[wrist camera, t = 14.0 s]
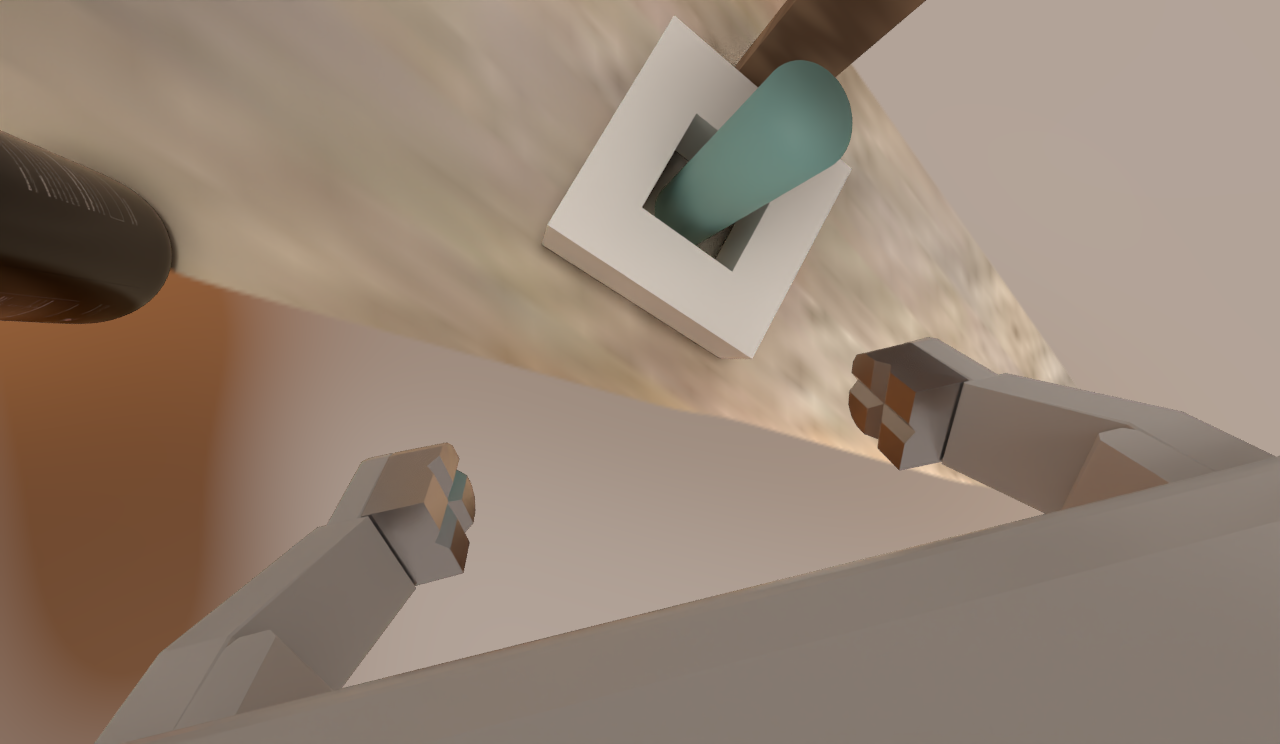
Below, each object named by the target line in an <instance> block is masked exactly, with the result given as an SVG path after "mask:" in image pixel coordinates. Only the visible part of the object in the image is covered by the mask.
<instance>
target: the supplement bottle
mask: <svg viewBox="0 0 1280 744" xmlns="http://www.w3.org/2000/svg"><path fill="white" fill-rule="evenodd" d="M171 261H172V249H171V243H170V239H169V235H168V233H167V230H166V228H165V226H164V224H163V222H162V220H161V219H160V217H159V216H158V214H157V213H156V212H155V211H154V209H153V208H152V207H151V206H150V205H149V204H148V203H147V202H146V201H145V200H144V199H143V198H142V197H141V196H139V195H138V194H137V193H136V192H134V191H133V190H131V189H130V188H128V187H127V186H125V185H123V184H122V183H120V182H118V181H116V180H114V179H112V178H110V177H108V176H106V175H103V174H101V173H99V172H97V171H94V170H92V169H90V168H88V167H85V166H83V165H81V164H78V163H76V162H74V161H71V160H69V159H67V158H64V157H62V156H60V155H57V154H55V153H52V152H50V151H48V150H45V149H43V148H41V147H38V146H36V145H34V144H31V143H29V142H27V141H24V140H22V139H20V138H17V137H15V136H13V135H10V134H8V133H6V132H3V131H1V130H0V320H2V321H22V322H40V323H65V324H85V323H98V322H104V321H109V320H113V319H116V318H119V317H122V316H125V315H127V314H130V313H132V312H134V311H136V310H138V309H139V308H140V307H142V306H144V305H145V304H146V303H148V302H149V301H150V300H151V299H152V298H153V297H154V296H155V295H156V294H157V293H158V292H159V290H160V289H161V288H162V286H163V285H164V283H165V281H166V279H167V277H168V274H169V271H170V267H171Z"/></svg>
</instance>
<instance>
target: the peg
mask: <svg viewBox="0 0 1280 744" xmlns="http://www.w3.org/2000/svg"><path fill="white" fill-rule="evenodd" d="M851 133H852V113H851V108H850V104H849V101H848V98H847V95H846V93H845V91H844V89H843V88H842V86H841V84H840V83H839V82H838V80H837V79H836V78H835V77H834V76H833V75H832V74H831V73H830V72H829V71H828V70H827V69H825V68H824V67H822V66H820V65H818V64H816V63H814V62H810V61H805V60H795V61H790V62H787V63H784V64H783V65H781V66H779V67H778V68H777V69H776V70H774V71H773V72H772V73H771V75H770V76H769V77H768V78H767V79H766V80H765V81H764V82H763V83H762V84H761V85H760V86H759V87H758V88H757V89H756V91H755V92H754V93H753V94H752V95H751V96H750V97H749V98H748V99H747V100H746V101H745V102H744V103H743V104H742V105H741V107H740V108H739V109H738V110H737V111H736V112H735V113H734V114H733V115H732V116H731V117H730V118H729V119H728V120H727V121H726V123H725V124H724V125H723V126H722V127H721V128H720V129H719V130H718V131H717V132H716V133H715V134H714V135H713V136H712V137H711V139H710V140H709V141H708V142H707V143H706V144H705V145H704V146H703V147H702V148H701V149H700V150H699V151H698V152H697V153H696V155H695V156H694V157H693V158H692V159H691V160H690V161H689V162H688V163H687V164H686V165H685V166H684V167H683V168H682V169H681V171H680V172H679V173H678V174H677V175H676V176H675V177H674V178H673V179H672V180H671V181H670V182H669V183H668V184H667V185H666V187H665V188H664V189H663V190H662V191H661V192H660V194H659V195H658V197H657V200H656V203H655V217H656V218H657V219H659V220H660V221H662V222H663V223H664V224H666V225H667V226H669V227H670V228H672V229H673V230H674V231H676V232H677V233H679V234H680V235H681V236H683V237H684V238H686V239H687V240H688V241H690V242H691V243H693V244H694V245H696V244H699V243H701V242H702V241H704V240H706V239H707V238H709V237H711V236H713V235H714V234H716V233H718V232H719V231H721V230H723V229H725V228H726V227H728V226H730V225H731V224H733V223H735V222H737V221H738V220H740V219H742V218H743V217H745V216H747V215H749V214H750V213H752V212H754V211H755V210H757V209H759V208H761V207H762V206H764V205H766V204H767V203H769V202H771V201H773V200H774V199H776V198H778V197H780V196H781V195H783V194H785V193H786V192H788V191H790V190H792V189H793V188H795V187H797V186H798V185H800V184H802V183H804V182H805V181H807V180H809V179H810V178H812V177H814V176H816V175H817V174H819V173H821V172H822V171H824V170H826V169H828V168H829V167H831V166H832V165H834V164H835V163H836V162H837V161H838V160H839V159H840V158H841V157H842V156H843V154H844V153H845V151H846V149H847V147H848V145H849V142H850V138H851Z"/></svg>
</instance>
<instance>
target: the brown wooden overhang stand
mask: <svg viewBox="0 0 1280 744" xmlns="http://www.w3.org/2000/svg"><path fill="white" fill-rule="evenodd" d="M924 1H926V0H787V1H786V2H785V4H784V5H783V6H782V7H781V9H780V10H779V11H778V13H777V14H776V15H775V16H774V18H773V19H772V20H771V21H770V23H769V24H768V25H767V27H766V28H765V29H764V30H763V32H762V33H761V34H760V35H759V37H758V38H757V39H756V40H755V42H754V43H753V44H752V46H751V47H750V48H749V49H748V51H747V52H746V53H745V54H744V56H743V57H742V58H741V60H740V61H739V62H738V63H737V65H736V67H735V68H736V69H737V70H738V71H739V72H741V73H742V74H743V75H744V76H745V77H746V78H748V79H749V80H750V81H751V82H752V83H753V84H755V85H756V86H757V87H759V86H760V85H761V84H762V83H763V82H764V81H765V80H766V79H767V78H768V77H769V76H770V75H771V73H772V72H773V71H774V70H776V69H777V68H778V67H779V66H781V65H783V64H784V63H787V62H790V61H795V60H805V61H810V62H814V63H816V64H818V65H820V66H822V67H824V68H825V69H827V70H828V71H829V72H830V73H831V74H832V75H833V76H834V77H836V76H837V75H838V74H840V73H841V72H842V71H843V70H844V69H846V68H847V67H848V66H849V65H850V64H851V63H853V62H854V61H855V60H856V59H857V58H858V57H860V56H861V55H862V54H863V53H864V52H866V51H867V50H868V49H869V48H870V47H871V46H873V45H874V44H875V43H876V42H877V41H879V40H880V39H881V38H882V37H883V36H884V35H886V34H887V33H888V32H889V31H890V30H892V29H893V28H894V27H895V26H896V25H897V24H899V22H901V21H902V20H903V19H904V18H906V17H907V16H908V15H909V14H910V13H911V12H913V11H914V10H915V9H916V8H917V7H919V6H920V5H921V4H922V3H923V2H924Z"/></svg>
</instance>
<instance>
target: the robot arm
mask: <svg viewBox="0 0 1280 744" xmlns="http://www.w3.org/2000/svg"><path fill="white" fill-rule="evenodd" d="M852 374H853V375H854V376H855V378H856V379H857V382H856V383H855V384H854V386H853V387H852V388H851V390H850V391H849V404H848V405H849V409H850V412H851V416H852V418H853V420H854V422H855V424H856V426H857V427H858V428H859V429H860V430H861V431H862V432H863V433H864V434H866V435H868V436H871V437H874V438H876V439H878V449H879V450H880V451H881V452H882V453H883V454H884V455H885V456H886V457H887V458H888V459H889V460H890V461H891V462H892V463H893V464H894V466H895V467H896V468H897V469H898V470H904V469H909V468H914V467H919V466H923V465H928V464H933V463H938V462H942V464H943V465H945V466H947V467H949V468H952V469H954V470H956V471H958V472H960V473H962V474H964V475H966V476H968V477H970V478H972V479H974V480H976V481H979V482H981V483H983V484H985V485H987V486H989V487H991V488H993V489H995V490H997V491H999V492H1001V493H1004V494H1006V495H1008V496H1010V497H1012V498H1014V499H1016V500H1018V501H1020V502H1022V503H1024V504H1026V505H1028V506H1031V507H1033V508H1035V509H1037V510H1039V511H1041V512H1043V513H1045V514H1043V515H1039V516H1035V517H1031V518H1027V519H1023V520H1019V521H1015V522H1011V523H1007V524H1003V525H998V526H994V527H990V528H987V529H983V530H979V531H974V532H970V533H967V534H962V535H958V536H954V537H950V538H946V539H942V540H938V541H934V542H930V543H926V544H922V545H918V546H914V547H910V548H906V549H902V550H898V551H894V552H890V553H886V554H882V555H878V556H874V557H870V558H866V559H862V560H858V561H853V562H849V563H846V564H842V565H838V566H833V567H830V568H825V569H822V570H817V571H813V572H809V573H806V574H801V575H797V576H793V577H789V578H785V579H781V580H777V581H773V582H769V583H765V584H761V585H757V586H753V587H749V588H745V589H741V590H737V591H733V592H729V593H725V594H720V595H716V596H713V597H709V598H704V599H700V600H696V601H693V602H688V603H684V604H680V605H676V606H672V607H668V608H664V609H660V610H656V611H652V612H648V613H644V614H640V615H636V616H632V617H628V618H624V619H620V620H616V621H612V622H608V623H603V624H599V625H596V626H591V627H587V628H583V629H579V630H576V631H571V632H567V633H563V634H559V635H555V636H551V637H547V638H543V639H539V640H535V641H531V642H527V643H523V644H519V645H515V646H511V647H507V648H503V649H499V650H495V651H491V652H487V653H483V654H479V655H475V656H470V657H467V658H462V659H459V660H455V661H451V662H446V663H442V664H438V665H434V666H431V667H427V668H422V669H418V670H414V671H410V672H406V673H402V674H398V675H394V676H390V677H386V678H382V679H378V680H374V681H370V682H366V683H362V684H358V685H354V686H350V687H346V688H342V687H343V686H344V684H345V683H346V682H347V680H348V679H349V678H350V676H351V675H352V674H353V672H354V671H355V670H356V668H357V667H358V666H359V664H360V663H361V662H362V660H363V659H364V658H365V656H366V655H367V654H368V652H369V651H370V650H371V648H372V647H373V646H374V644H375V643H376V641H377V640H378V639H379V637H380V636H381V635H382V633H383V632H384V631H385V629H386V628H387V626H388V625H389V624H390V623H391V621H392V620H393V619H394V617H395V616H396V615H397V613H398V612H399V610H400V609H401V608H402V607H403V605H404V604H405V602H406V601H407V600H408V598H409V597H410V596H411V594H412V593H413V592H414V590H415V589H416V587H415V586H417V585H420V584H424V583H428V582H431V581H436V580H439V579H443V578H447V577H451V576H454V575H458V574H462V573H464V568H465V562H466V558H467V553H468V547H469V540H468V538H467V536H466V534H465V532H466V531H467V530H468V529H469V527H470V526H471V525H472V524H473V522H474V516H475V496H474V493H473V489H472V485H471V483H470V480H469V478H468V477H467V475H465V474H464V473H462V472H460V471H458V470H457V465H458V462H459V457H458V455H457V453H456V451H455V449H454V447H453V446H452V445H450V444H448V443H442V444H437V445H431V446H426V447H421V448H416V449H411V450H406V451H401V452H396V453H394V454H392V453H390V454H386V455H382V456H377V457H372V458H368V459H367V460H364V461H362V462H361V464H360V466H359V467H358V469H357V471H356V473H355V474H354V476H353V478H352V480H351V482H350V483H349V485H348V487H347V489H346V491H345V493H344V494H343V496H342V498H341V500H340V502H339V503H338V505H337V507H336V509H335V511H334V513H333V514H332V516H331V518H330V520H329V522H328V524H327V525H325V526H321V527H317V528H316V529H315V530H313V531H312V532H311V533H309V534H308V535H307V536H306V537H305V538H304V539H302V540H301V541H300V542H298V543H297V544H296V545H294V546H293V547H292V548H291V549H289V550H288V551H287V552H286V553H284V554H283V555H282V556H281V557H279V558H278V559H277V560H276V561H274V562H273V563H272V564H271V565H269V566H268V567H267V568H266V569H264V570H263V571H262V572H261V573H259V574H258V575H257V576H256V577H254V578H253V579H252V580H251V581H250V582H248V583H247V584H246V585H244V586H243V587H242V588H241V589H239V590H238V591H237V592H236V593H234V594H233V595H232V596H231V597H229V598H228V599H227V600H226V601H224V602H223V603H222V604H221V605H219V606H218V607H217V608H216V609H214V610H213V611H212V612H211V613H210V614H208V615H207V616H206V617H204V618H203V619H202V620H201V621H199V622H198V623H197V624H196V625H194V626H193V627H192V628H191V629H189V630H188V631H187V632H185V633H184V634H183V635H182V636H180V637H179V638H178V639H177V640H175V641H174V642H173V643H172V644H170V645H169V646H168V647H167V648H165V649H164V650H163V651H162V652H160V654H159V655H158V656H157V657H156V659H155V660H154V662H153V663H152V664H151V666H150V667H149V668H148V670H147V671H146V673H145V674H144V675H143V677H142V678H141V680H140V681H139V682H138V684H137V685H136V686H135V688H134V689H133V691H132V692H131V693H130V695H129V696H128V697H127V699H126V700H125V702H124V703H123V704H122V706H121V707H120V708H119V710H118V711H117V713H116V714H115V715H114V717H113V718H112V719H111V721H110V722H109V724H108V725H107V726H106V728H105V729H104V730H103V732H102V733H101V735H100V736H99V737H98V739H97V740H96V741H95V743H94V744H1280V456H1278V457H1276V456H1274V455H1272V454H1270V453H1267V452H1265V451H1263V450H1261V449H1259V448H1257V447H1255V446H1253V445H1251V444H1249V443H1247V442H1245V441H1242V440H1241V439H1238V438H1236V437H1234V436H1232V435H1230V434H1228V433H1226V432H1224V431H1222V430H1220V429H1218V428H1216V427H1214V426H1211V425H1209V424H1207V423H1205V422H1203V421H1201V420H1199V419H1197V418H1195V417H1193V416H1190V415H1188V414H1187V413H1184V412H1182V411H1177V410H1173V409H1168V408H1164V407H1159V406H1154V405H1150V404H1145V403H1141V402H1136V401H1132V400H1127V399H1122V398H1117V397H1113V396H1108V395H1104V394H1099V393H1095V392H1090V391H1086V390H1081V389H1077V388H1072V387H1067V386H1063V385H1058V384H1054V383H1049V382H1044V381H1040V380H1035V379H1031V378H1026V377H1022V376H1017V375H1012V374H1008V373H1004V374H999V375H998V374H996V373H994V372H993V371H991V370H989V369H988V368H986V367H984V366H983V365H981V364H979V363H978V362H976V361H974V360H972V359H971V358H969V357H967V356H966V355H964V354H962V353H961V352H959V351H957V350H956V349H954V348H952V347H951V346H949V345H947V344H945V343H944V342H942V341H940V340H939V339H937V338H930V337H927V338H923V339H919V340H915V341H911V342H907V343H904V344H901V345H897V346H892V347H888V348H884V349H879V350H875V351H871V352H866V353H862V354H858V355H856V357H855V359H854V361H853V366H852Z"/></svg>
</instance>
